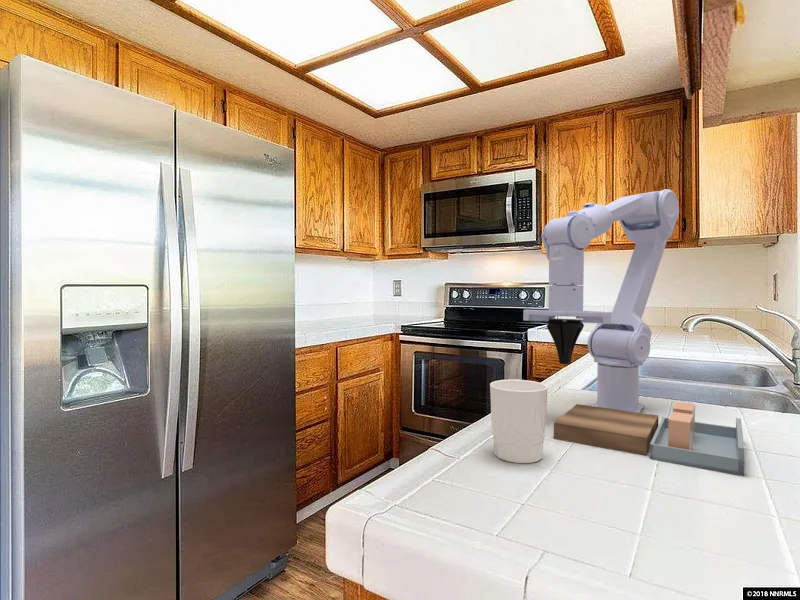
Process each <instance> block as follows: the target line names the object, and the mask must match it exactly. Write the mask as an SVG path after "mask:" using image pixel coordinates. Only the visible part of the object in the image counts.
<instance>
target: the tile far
mask: <svg viewBox="0 0 800 600" xmlns="http://www.w3.org/2000/svg"><path fill="white" fill-rule="evenodd" d="M673 412H679V413H686V414H693V415H694V430H693V440H694V436H695V422H696V403H691V402H682V401H676V402H675V404H674V406H673V408H672V413H673Z"/></svg>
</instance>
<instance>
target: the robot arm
mask: <svg viewBox="0 0 800 600" xmlns="http://www.w3.org/2000/svg"><path fill="white" fill-rule="evenodd" d="M582 207H583V208H582V209H580V210H575V209H574V210H570V211H568V212H567V215H566V216H564V217H556V218H553V219H550V220H549V221H548V223H546V225H545V226H544V228H543V233H541V236H540V237H541V241H542V243H543V244H542V245H543V246H544V248H545V257H546V258H547V260H548V309H523V315H522V316H523V317H522V319H523V321H526V322H527V321H535V322H536V321H537V322H542V321H543V322H548V323H547V324H546V327H547V328H546V329H547V330H548V332H549V333H550V336H551V338H552V340H553V343H554V346H555V348H556V353H557V356H558V360H559V361H558V362H559V365H560V364H562V365H569V364H571V363H572V362H571V361H572V358H573V357H572V356H573V352H574V350H575V346H576V343H577V342H578V339H579V336H580V334H581V333H582V331H583V329H584V327H585V324H596V325H595V327H594V328H593V330H591V332H590V334H589V336H588V339H587V349H588V352H589V355H591V357H592V358H593V362H594V363H597V365H596V366H597V370H596V371H597V372H596V373H597V375H596V376H597V377H596V379H597V382H596V383H597V384H596V386H597V387H596V391H597V393H596V396H597V397H596V403H595V404H594V405H593V406H595V407H602V408H610V409H617V410H624V411H631V412H639V413H642V412H641V411H642V410H643V409H644V407H645V404H644V403H641V402H639V399H640V395H639V394H640V393H639V391H640V389H639V388H640V384H639V383H640V375H639V371H640V366H643V364H644V363H645V362H646V361H647V359H648V358H649V355H650V352H651V337H652V335H653V332H652V330H651V327H649V325H648V324H647V323H646V322H645V321H644V320H643V319H642V318H643V315H644V312H645V309H646V308H647V307H646V306H647V303H648V300H649V297H650V295H651V292H652V288H653V285H654V281H655V279H656V276H657V272H658V269H659V267H660V264H661V261H662V258H663V255H664V251H665V249H666V246H667V241H668V239H669V238H670V237H672V236H673V233H674V230H675V227H676V223H677V221H678V217H679V215H680V207H679V202H678V197H677V195H676V194H675V192H674V191H673V190H672V189H670V188H666V189H662V190H657V191H651V192H650V191H649V192H643V193H639V194H638V193H637V194H632V195H625V196H621V197H617V198H616V199H615V200H613V201H611V202H610V203H608V204H606V205H603V204H599V203H595V202H587V203H584V204H583V205H582ZM617 221H619V223H620V226H621V228H622V229H623V232H624V234H625V236H626V238H627V240H628V241H630V242H633V243H634V244H635V246H634V249H633V251H632V254H631V257H630V261H629V262H628V266H627V269H626V271H625V273H624V274H625V275H624V278H623V279H622V280H623V281H622V284H621V287H620V289H619V291H618V295H617V297H616V300H615V303H614V305H613V309H612V311H594V310H593V311H592V310H584V274H585V273H584V269H585V268H584V267H585V265H584V264H585V263H584V262H585V255H584V254H585V248H588V247H589V246H590V245H591V242H592V240H593V239H595V238H598V237H600V236H602V235H603V234H605V233H607V232H608V231H609V230H610V229H611V228H612V225H613V223H615V222H617ZM557 317H573V318H557ZM574 317H575V318H574Z"/></svg>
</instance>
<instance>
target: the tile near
mask: <svg viewBox="0 0 800 600" xmlns="http://www.w3.org/2000/svg"><path fill="white" fill-rule="evenodd" d="M668 418H669V427H668V446H669V447H675V448H681V449H687V450H693V430H694V415H693V414H686V413H679V412H673V411H672V414H671V415H670V417H668Z"/></svg>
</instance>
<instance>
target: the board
mask: <svg viewBox="0 0 800 600" xmlns="http://www.w3.org/2000/svg"><path fill="white" fill-rule="evenodd" d="M658 426H659V414H653V413H652V414H651V413H644V412H640V413H639V412H631V411H624V410H617V409H610V408H602V407H595V406H594V405H587V404H580V403H576V404H575V405H574V406H573V407H571V408H570V409H569V410H567V411H566V412H565V413H563V414H562V415H561V416H560V417H559V418H557V419H556V420H555V421H553V439H555V440H560V441H564V442H565V441H566V442H572V443H577V444H582V445H587V446H592V447H593V446H594V447H597V448H598V447H599V448H605V449H609V450H610V449H611V450H614V451H621V452H625V453H631V454H637V455H643V456H647V455H648V453H649V452H650V443H651V441H652V439H653V436H654V434H655V432H656V430H657V428H658Z"/></svg>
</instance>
